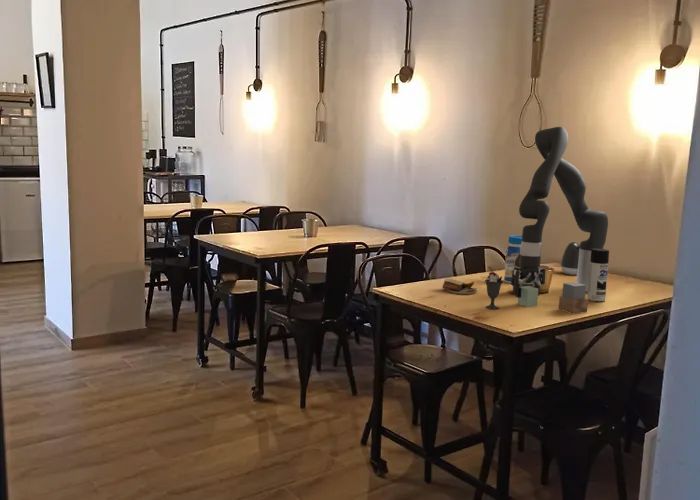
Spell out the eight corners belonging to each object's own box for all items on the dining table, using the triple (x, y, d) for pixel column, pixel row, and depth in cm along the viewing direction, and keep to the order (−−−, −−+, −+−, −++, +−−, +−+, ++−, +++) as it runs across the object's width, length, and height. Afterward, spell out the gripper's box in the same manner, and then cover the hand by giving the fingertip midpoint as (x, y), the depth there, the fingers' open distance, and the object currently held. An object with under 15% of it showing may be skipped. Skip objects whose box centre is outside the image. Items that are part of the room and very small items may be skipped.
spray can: (596, 302, 260) (601, 251, 257) (583, 298, 266) (587, 248, 263) (608, 301, 263) (613, 250, 260) (595, 297, 269) (599, 247, 266)
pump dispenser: (570, 276, 310) (573, 244, 307) (555, 272, 319) (557, 240, 317) (587, 275, 314) (590, 243, 312) (571, 271, 323) (574, 240, 321)
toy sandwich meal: (469, 297, 263) (470, 285, 263) (437, 292, 270) (438, 280, 269) (481, 291, 274) (482, 280, 273) (450, 287, 281) (450, 275, 280)
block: (527, 302, 256) (529, 286, 255) (537, 305, 252) (538, 288, 251) (517, 303, 254) (518, 286, 253) (526, 306, 250) (528, 289, 249)
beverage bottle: (526, 281, 295) (529, 236, 292) (519, 285, 288) (523, 238, 285) (507, 279, 300) (510, 234, 296) (500, 282, 293) (504, 236, 289)
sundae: (480, 305, 249) (483, 265, 247) (498, 305, 250) (501, 265, 247) (485, 310, 243) (488, 268, 240) (503, 310, 243) (506, 269, 241)
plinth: (572, 307, 251) (573, 294, 250) (586, 312, 245) (588, 298, 244) (558, 309, 248) (559, 296, 247) (572, 314, 242) (573, 300, 241)
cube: (573, 295, 249) (574, 282, 248) (584, 298, 244) (585, 285, 244) (562, 296, 247) (563, 283, 246) (573, 299, 242) (574, 286, 241)
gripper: (538, 251, 257) (534, 293, 259) (508, 252, 250) (505, 295, 253) (552, 254, 250) (548, 297, 253) (522, 256, 244) (519, 300, 246)
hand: (526, 296), depth 253 cm, fingers open, 8 cm apart
